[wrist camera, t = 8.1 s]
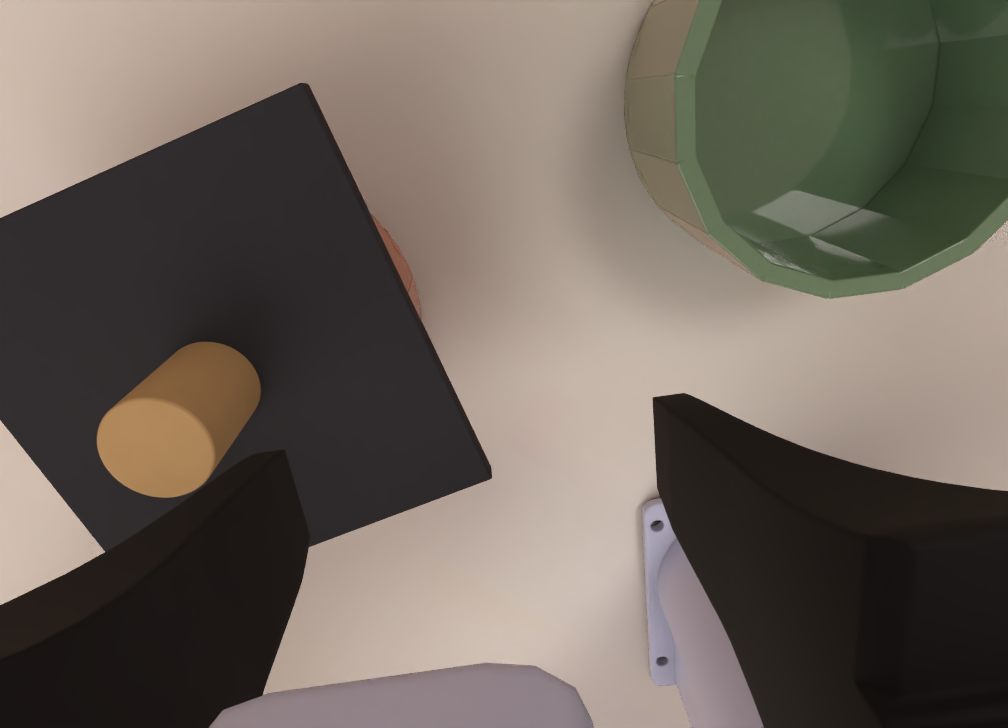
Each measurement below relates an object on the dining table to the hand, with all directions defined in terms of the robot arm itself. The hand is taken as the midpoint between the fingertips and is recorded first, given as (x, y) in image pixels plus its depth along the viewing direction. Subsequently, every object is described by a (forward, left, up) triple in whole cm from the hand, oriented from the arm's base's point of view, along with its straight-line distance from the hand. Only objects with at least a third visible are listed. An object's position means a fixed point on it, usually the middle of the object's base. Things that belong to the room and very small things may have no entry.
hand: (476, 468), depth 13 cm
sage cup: (+6, -10, -10) cm, 16 cm away
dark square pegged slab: (+1, +7, -5) cm, 9 cm away
